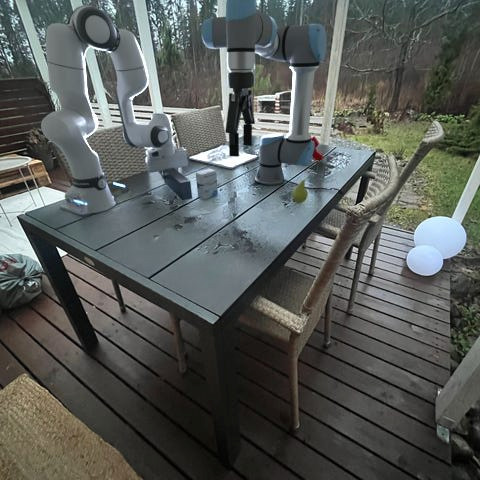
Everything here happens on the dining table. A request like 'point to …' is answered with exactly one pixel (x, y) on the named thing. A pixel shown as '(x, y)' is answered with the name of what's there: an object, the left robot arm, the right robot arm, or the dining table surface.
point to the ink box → (206, 183)
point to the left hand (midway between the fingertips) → (169, 177)
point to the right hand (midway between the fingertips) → (241, 150)
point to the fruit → (300, 192)
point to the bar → (178, 183)
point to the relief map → (223, 157)
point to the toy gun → (316, 153)
